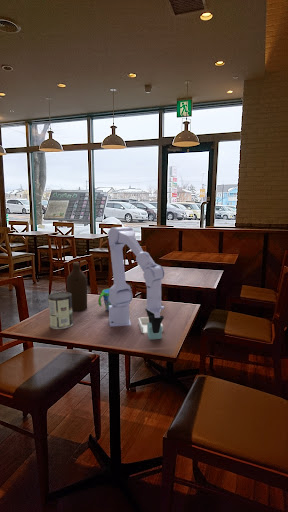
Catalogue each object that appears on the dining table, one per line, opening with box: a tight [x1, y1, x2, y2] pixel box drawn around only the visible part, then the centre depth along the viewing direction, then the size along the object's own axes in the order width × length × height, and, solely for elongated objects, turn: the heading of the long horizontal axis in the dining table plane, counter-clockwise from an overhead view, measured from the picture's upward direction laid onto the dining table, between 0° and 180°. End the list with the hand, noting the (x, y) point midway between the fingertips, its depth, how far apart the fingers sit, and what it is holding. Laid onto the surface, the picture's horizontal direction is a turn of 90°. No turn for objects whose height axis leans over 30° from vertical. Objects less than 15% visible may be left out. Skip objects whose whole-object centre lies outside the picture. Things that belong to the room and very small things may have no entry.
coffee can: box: [47, 291, 74, 330], centre depth 141 cm, size 10×10×14 cm
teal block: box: [146, 323, 163, 341], centre depth 126 cm, size 5×5×5 cm
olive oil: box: [66, 261, 88, 313], centre depth 163 cm, size 11×11×25 cm
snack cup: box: [98, 287, 111, 312], centre depth 163 cm, size 16×10×10 cm
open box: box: [137, 316, 164, 334], centre depth 136 cm, size 9×12×3 cm
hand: (154, 329), depth 126 cm, fingers open, 7 cm apart
